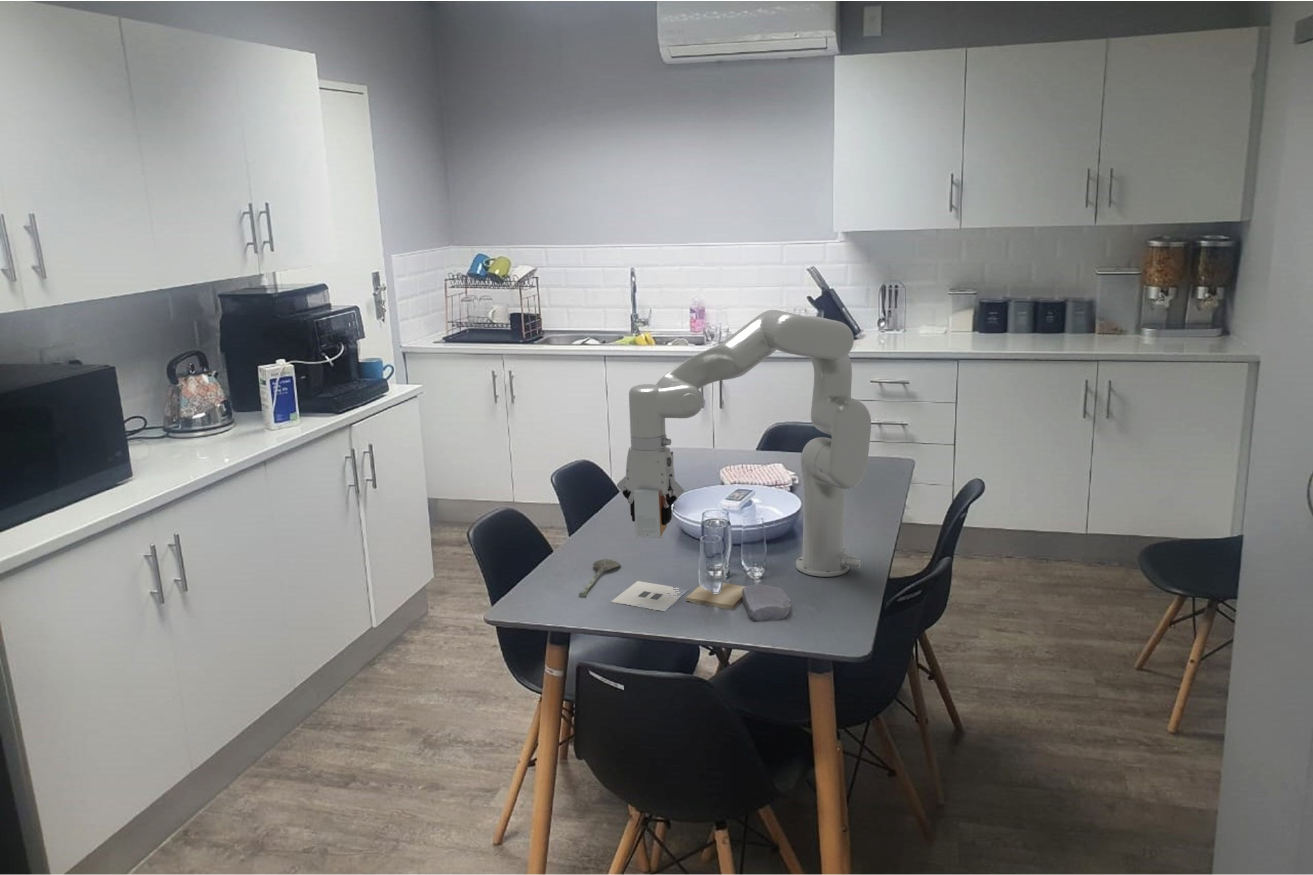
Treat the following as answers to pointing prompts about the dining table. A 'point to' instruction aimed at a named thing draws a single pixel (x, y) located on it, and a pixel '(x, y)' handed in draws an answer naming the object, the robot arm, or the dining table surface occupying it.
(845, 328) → the robot arm
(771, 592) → the stone block
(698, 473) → the dining table surface
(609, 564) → the soupspoon
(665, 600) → the cream tile
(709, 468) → the dining table surface
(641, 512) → the small box
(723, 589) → the wooden board
